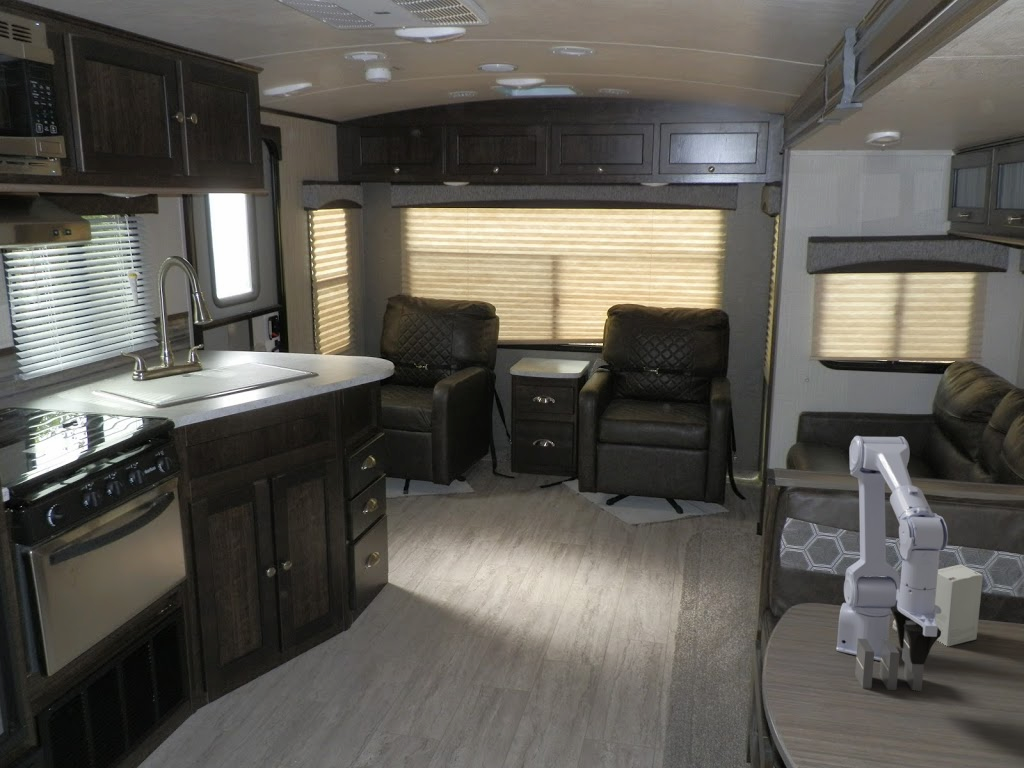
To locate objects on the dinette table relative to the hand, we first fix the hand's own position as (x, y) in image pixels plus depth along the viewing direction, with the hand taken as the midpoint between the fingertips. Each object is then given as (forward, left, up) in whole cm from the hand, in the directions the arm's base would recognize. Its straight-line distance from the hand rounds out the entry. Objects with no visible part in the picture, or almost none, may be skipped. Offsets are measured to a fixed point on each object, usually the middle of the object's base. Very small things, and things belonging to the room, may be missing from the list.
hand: (911, 655), depth 156 cm
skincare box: (+4, +33, -11) cm, 35 cm away
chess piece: (-5, +32, -11) cm, 34 cm away
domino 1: (-8, +6, -10) cm, 15 cm away
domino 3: (0, 0, -2) cm, 2 cm away
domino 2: (-4, +8, -10) cm, 14 cm away
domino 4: (0, +10, -10) cm, 14 cm away
